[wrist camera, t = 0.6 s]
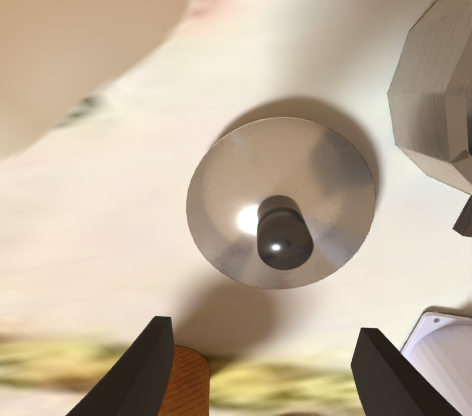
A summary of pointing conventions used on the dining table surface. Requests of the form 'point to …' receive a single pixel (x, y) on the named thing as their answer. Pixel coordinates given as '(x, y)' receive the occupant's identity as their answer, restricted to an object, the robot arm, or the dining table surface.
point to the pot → (438, 99)
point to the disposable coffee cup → (187, 385)
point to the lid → (280, 203)
